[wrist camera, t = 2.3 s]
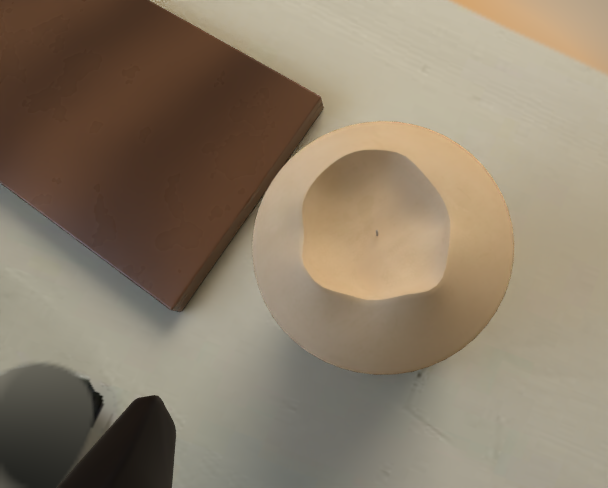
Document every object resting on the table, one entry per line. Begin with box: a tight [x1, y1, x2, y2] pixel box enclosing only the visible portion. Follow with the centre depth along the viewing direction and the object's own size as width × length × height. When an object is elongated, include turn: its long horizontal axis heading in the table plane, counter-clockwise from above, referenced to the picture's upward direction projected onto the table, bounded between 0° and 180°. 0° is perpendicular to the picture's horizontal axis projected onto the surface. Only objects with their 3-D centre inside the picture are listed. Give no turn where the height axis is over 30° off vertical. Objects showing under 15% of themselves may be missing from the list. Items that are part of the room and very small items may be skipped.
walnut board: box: [0, 0, 324, 312], centre depth 23 cm, size 20×10×1 cm, turn 55°
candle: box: [252, 121, 514, 375], centre depth 14 cm, size 6×6×10 cm
